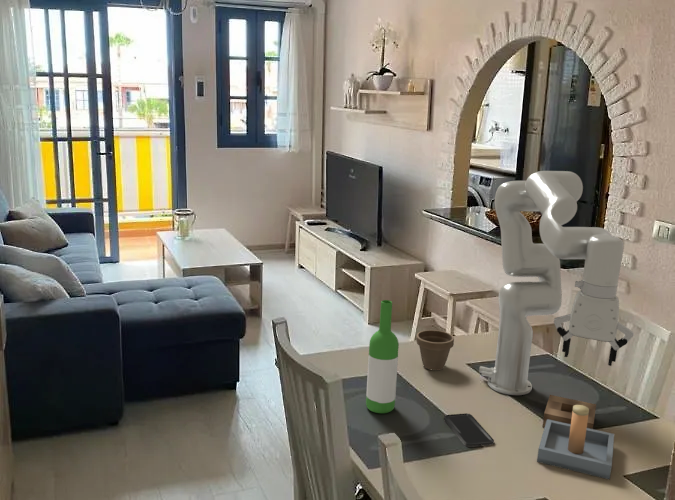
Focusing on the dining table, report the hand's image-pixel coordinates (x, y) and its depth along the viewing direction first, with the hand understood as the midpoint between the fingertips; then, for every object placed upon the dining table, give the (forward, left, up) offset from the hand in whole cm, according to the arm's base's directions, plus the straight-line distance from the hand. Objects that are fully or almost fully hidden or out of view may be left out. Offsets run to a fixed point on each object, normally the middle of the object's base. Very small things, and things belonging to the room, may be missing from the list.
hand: (587, 359), depth 160 cm
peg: (0, 0, -23) cm, 23 cm away
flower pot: (-45, +34, -25) cm, 61 cm away
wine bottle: (-50, 0, -25) cm, 56 cm away
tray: (0, 0, -24) cm, 24 cm away
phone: (-26, -1, -25) cm, 36 cm away
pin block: (-3, +16, -24) cm, 29 cm away
